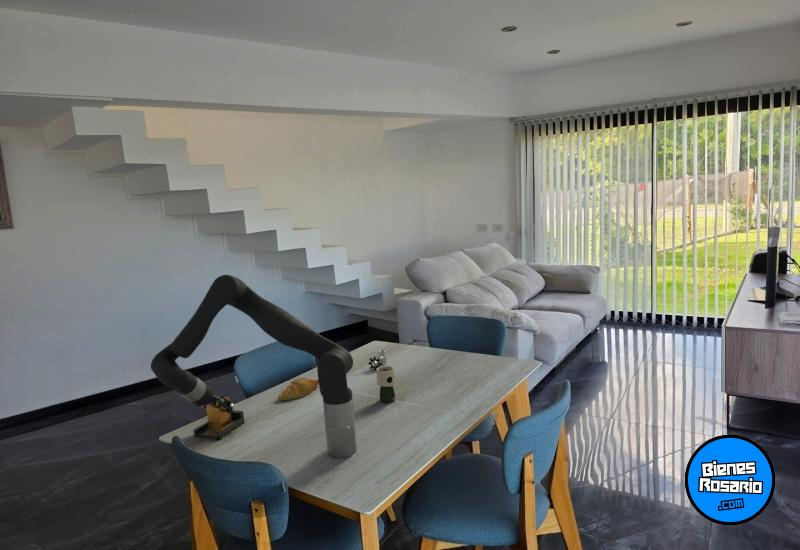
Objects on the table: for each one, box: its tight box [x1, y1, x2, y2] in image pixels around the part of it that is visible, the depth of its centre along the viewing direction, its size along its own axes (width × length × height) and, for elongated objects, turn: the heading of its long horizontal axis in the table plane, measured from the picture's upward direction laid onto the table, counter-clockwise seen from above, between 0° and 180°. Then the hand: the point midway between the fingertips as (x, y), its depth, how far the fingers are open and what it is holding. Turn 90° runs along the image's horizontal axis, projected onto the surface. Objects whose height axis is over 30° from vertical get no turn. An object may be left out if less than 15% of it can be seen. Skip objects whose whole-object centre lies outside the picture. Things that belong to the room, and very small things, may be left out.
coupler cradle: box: [193, 402, 245, 441], centre depth 197 cm, size 15×11×7 cm
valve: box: [367, 349, 388, 371], centre depth 258 cm, size 7×7×12 cm
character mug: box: [376, 365, 396, 403], centre depth 214 cm, size 11×7×13 cm, turn 147°
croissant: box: [277, 377, 319, 401], centre depth 228 cm, size 21×10×8 cm, turn 140°
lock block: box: [205, 396, 232, 430], centre depth 197 cm, size 6×6×10 cm
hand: (221, 409), depth 198 cm, fingers open, 8 cm apart
